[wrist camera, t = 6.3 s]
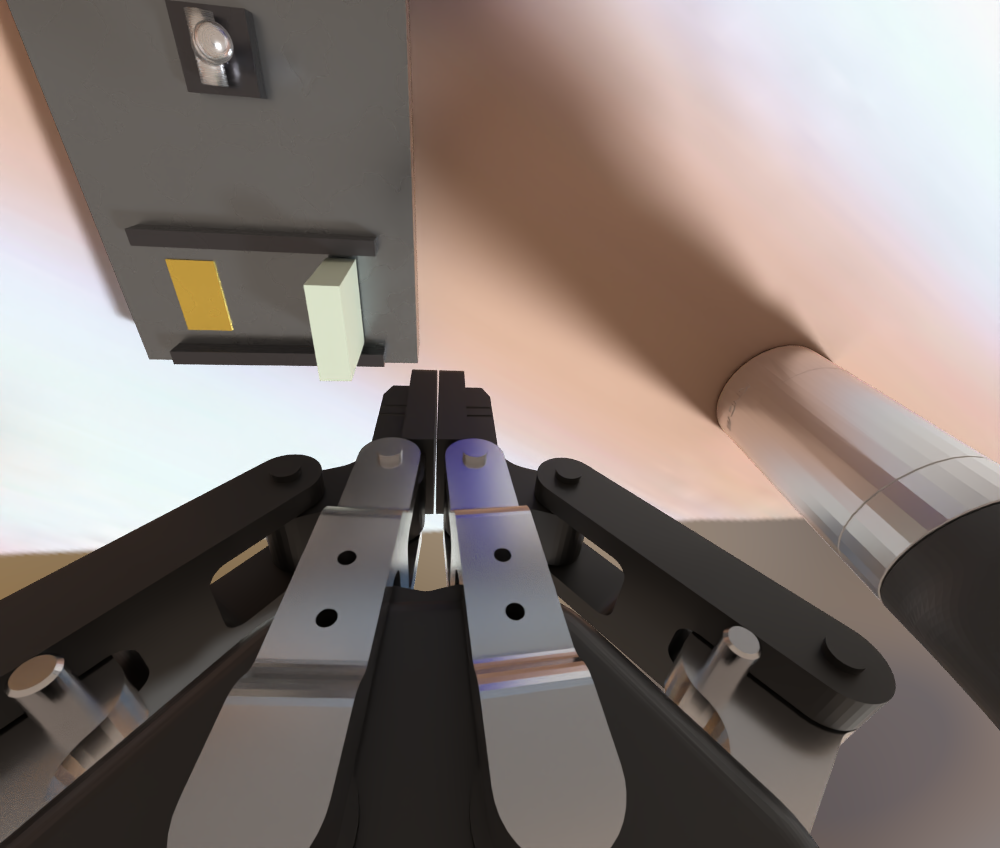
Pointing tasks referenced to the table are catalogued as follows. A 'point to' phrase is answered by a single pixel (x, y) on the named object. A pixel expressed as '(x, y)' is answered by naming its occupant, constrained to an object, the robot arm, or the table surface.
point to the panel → (240, 166)
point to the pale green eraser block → (335, 318)
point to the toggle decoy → (209, 46)
